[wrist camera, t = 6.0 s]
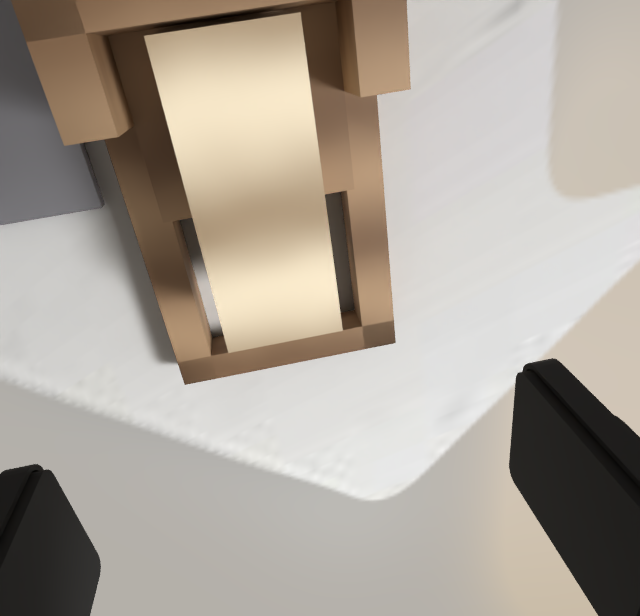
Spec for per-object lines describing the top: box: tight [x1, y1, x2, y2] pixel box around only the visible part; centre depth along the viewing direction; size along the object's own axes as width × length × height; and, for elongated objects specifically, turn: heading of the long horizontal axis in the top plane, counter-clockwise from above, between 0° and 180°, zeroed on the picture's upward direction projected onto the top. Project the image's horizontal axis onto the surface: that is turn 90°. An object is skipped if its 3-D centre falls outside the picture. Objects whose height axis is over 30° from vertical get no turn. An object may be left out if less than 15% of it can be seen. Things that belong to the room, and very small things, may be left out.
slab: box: [144, 12, 343, 353], centre depth 20 cm, size 12×5×3 cm, turn 8°
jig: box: [11, 0, 411, 385], centre depth 22 cm, size 20×12×7 cm, turn 8°
